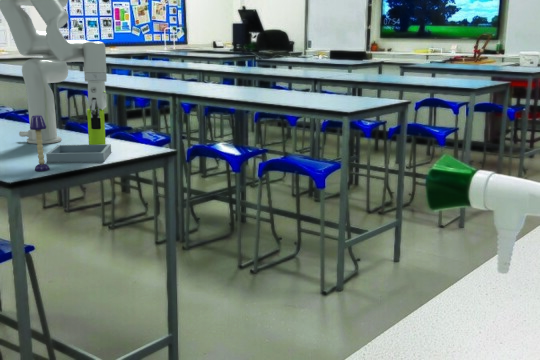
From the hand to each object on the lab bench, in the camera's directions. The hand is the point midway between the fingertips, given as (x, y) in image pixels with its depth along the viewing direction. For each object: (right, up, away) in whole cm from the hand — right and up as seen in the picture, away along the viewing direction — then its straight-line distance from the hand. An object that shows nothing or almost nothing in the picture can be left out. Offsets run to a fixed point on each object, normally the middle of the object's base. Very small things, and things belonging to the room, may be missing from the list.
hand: (97, 127), depth 217 cm
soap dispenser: (0, -7, +2) cm, 7 cm away
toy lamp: (-8, -16, -33) cm, 37 cm away
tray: (-2, -12, -14) cm, 18 cm away
